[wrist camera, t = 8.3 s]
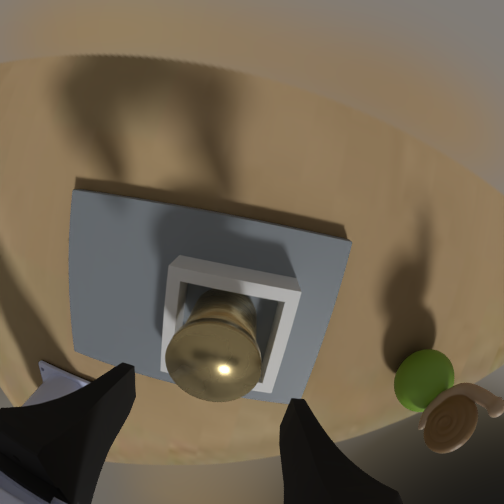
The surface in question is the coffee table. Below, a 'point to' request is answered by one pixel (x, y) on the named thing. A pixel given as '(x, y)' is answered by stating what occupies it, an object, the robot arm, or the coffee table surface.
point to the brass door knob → (216, 348)
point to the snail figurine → (441, 400)
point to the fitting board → (197, 283)
